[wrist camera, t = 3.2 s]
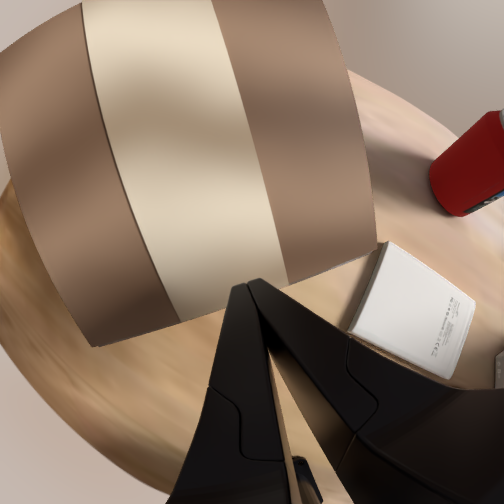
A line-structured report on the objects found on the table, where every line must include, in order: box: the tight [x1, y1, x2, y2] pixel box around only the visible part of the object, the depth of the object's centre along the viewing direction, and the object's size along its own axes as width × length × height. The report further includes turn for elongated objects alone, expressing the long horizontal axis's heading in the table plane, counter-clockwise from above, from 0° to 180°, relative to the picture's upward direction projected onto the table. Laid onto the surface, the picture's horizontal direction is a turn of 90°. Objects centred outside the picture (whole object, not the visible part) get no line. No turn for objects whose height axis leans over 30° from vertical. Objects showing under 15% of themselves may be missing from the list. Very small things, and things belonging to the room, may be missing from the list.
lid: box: [0, 0, 378, 347], centre depth 9 cm, size 15×14×1 cm
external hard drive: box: [347, 241, 476, 380], centre depth 21 cm, size 2×8×12 cm
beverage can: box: [429, 109, 504, 217], centre depth 18 cm, size 7×7×12 cm
